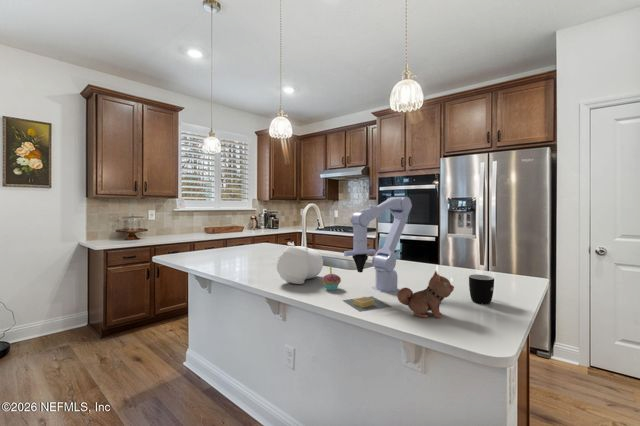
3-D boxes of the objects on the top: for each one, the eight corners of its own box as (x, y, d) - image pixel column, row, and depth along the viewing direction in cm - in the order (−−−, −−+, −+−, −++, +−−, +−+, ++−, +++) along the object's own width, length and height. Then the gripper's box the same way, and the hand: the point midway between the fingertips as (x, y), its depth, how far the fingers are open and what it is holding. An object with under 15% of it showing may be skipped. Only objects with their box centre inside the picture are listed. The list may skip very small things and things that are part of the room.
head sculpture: (296, 242, 178) (275, 239, 152) (330, 250, 172) (313, 247, 145) (288, 276, 176) (266, 278, 150) (322, 285, 170) (304, 289, 144)
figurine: (457, 320, 105) (457, 276, 105) (398, 317, 109) (398, 274, 108) (450, 310, 115) (450, 270, 115) (396, 307, 118) (396, 268, 118)
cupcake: (339, 292, 138) (339, 265, 137) (320, 291, 140) (320, 264, 139) (341, 287, 146) (341, 262, 146) (324, 286, 148) (324, 261, 148)
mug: (493, 307, 119) (494, 280, 119) (467, 303, 123) (468, 278, 123) (493, 298, 130) (493, 274, 129) (469, 295, 134) (469, 272, 134)
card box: (364, 296, 124) (353, 299, 121) (374, 299, 120) (362, 302, 117) (364, 301, 124) (353, 304, 121) (374, 305, 120) (362, 308, 117)
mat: (372, 297, 131) (372, 296, 131) (392, 307, 118) (392, 306, 118) (342, 301, 126) (342, 300, 126) (359, 312, 113) (359, 311, 113)
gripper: (369, 238, 141) (369, 268, 141) (340, 240, 135) (340, 271, 135) (378, 240, 134) (378, 271, 134) (348, 242, 128) (348, 274, 129)
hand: (360, 271), depth 135 cm, fingers closed
